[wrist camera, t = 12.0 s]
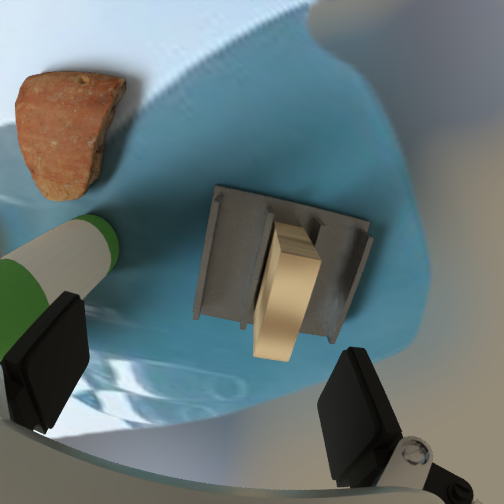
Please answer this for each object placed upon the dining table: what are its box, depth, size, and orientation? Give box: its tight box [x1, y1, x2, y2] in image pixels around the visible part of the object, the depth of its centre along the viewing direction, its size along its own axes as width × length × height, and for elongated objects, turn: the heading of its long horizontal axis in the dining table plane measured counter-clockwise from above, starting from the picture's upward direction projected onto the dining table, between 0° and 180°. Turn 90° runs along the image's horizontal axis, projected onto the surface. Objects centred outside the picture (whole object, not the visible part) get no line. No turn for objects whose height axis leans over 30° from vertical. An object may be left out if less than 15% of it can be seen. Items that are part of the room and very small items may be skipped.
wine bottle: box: [0, 214, 119, 361], centre depth 20 cm, size 8×8×30 cm
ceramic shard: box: [15, 71, 126, 201], centre depth 28 cm, size 15×6×15 cm
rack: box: [193, 184, 374, 344], centre depth 33 cm, size 15×17×4 cm
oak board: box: [253, 222, 322, 362], centre depth 29 cm, size 10×3×10 cm, turn 168°
